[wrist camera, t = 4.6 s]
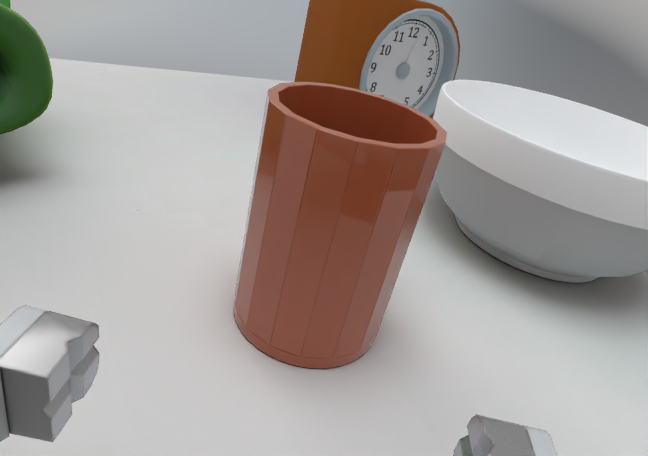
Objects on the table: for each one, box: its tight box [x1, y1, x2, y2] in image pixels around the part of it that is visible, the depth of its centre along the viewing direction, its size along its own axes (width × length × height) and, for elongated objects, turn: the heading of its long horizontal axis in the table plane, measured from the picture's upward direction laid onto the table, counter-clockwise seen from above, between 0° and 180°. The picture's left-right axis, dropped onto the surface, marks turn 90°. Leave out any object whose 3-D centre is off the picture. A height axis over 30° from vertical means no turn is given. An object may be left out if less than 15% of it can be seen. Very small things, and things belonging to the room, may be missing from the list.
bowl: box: [433, 80, 648, 283], centre depth 34 cm, size 19×19×9 cm
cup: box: [234, 82, 447, 368], centre depth 21 cm, size 7×7×10 cm
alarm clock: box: [295, 0, 460, 119], centre depth 49 cm, size 15×8×14 cm, turn 122°
